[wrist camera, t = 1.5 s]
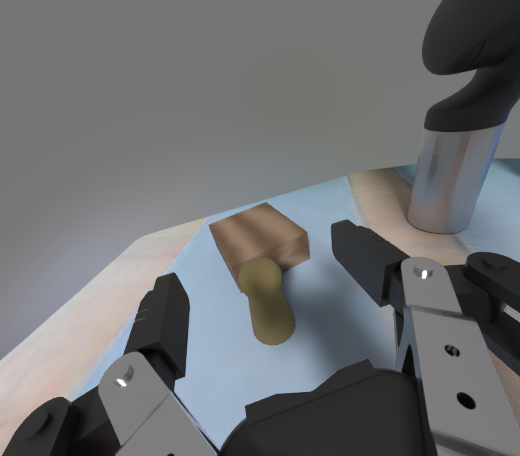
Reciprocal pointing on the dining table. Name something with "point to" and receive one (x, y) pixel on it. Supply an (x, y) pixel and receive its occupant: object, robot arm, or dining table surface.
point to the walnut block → (259, 239)
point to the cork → (267, 301)
